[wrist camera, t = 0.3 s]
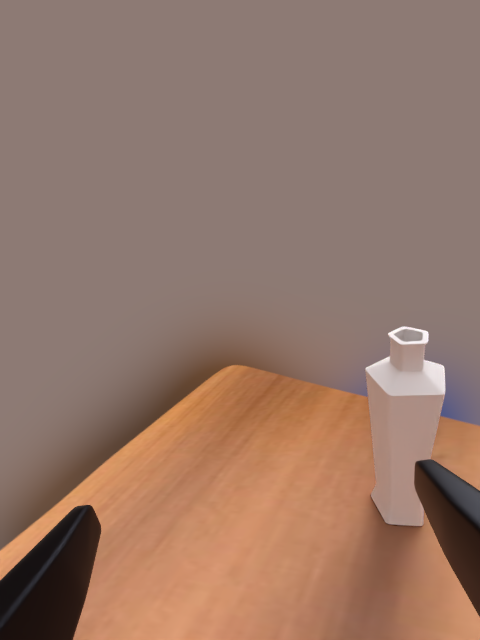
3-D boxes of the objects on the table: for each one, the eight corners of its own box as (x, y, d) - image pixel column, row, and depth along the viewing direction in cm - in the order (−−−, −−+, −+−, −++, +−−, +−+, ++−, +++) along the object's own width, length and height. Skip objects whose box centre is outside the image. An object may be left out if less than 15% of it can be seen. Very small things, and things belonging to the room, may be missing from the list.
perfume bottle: (355, 508, 25) (351, 343, 19) (380, 470, 28) (385, 314, 22) (418, 549, 22) (438, 367, 16) (440, 502, 25) (465, 329, 18)
